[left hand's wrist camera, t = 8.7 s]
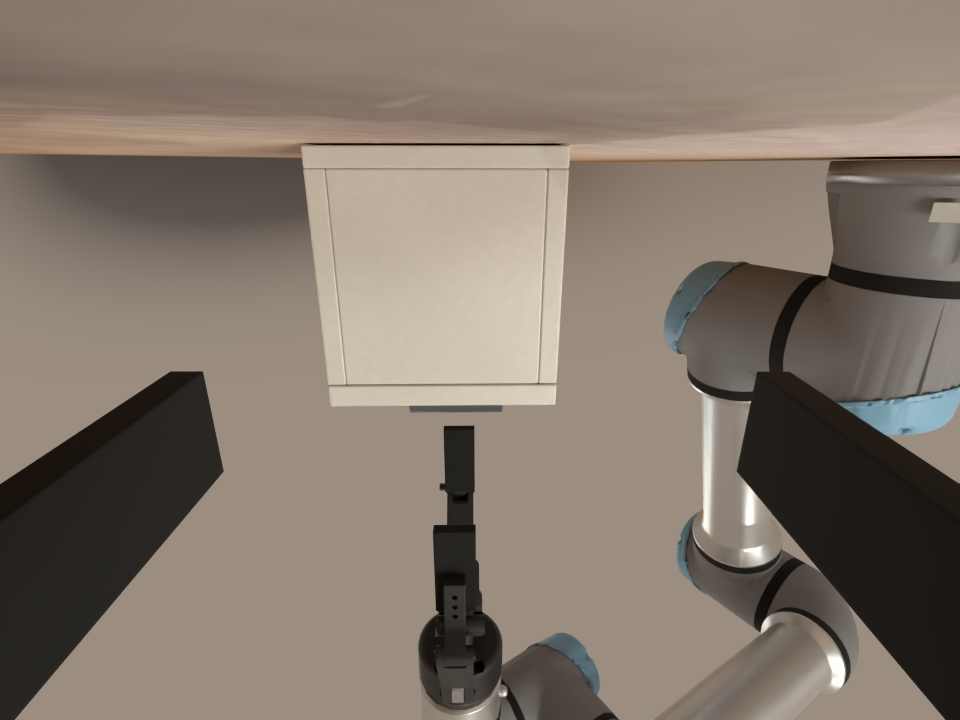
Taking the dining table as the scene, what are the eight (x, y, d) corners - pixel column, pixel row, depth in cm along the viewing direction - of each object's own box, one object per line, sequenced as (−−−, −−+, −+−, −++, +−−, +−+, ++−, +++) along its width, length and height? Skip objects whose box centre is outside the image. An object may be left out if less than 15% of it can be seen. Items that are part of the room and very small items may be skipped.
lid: (518, 286, 36) (515, 397, 40) (392, 286, 36) (399, 398, 39) (556, 384, 20) (546, 561, 23) (327, 386, 20) (347, 564, 23)
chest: (522, 155, 33) (518, 287, 36) (383, 155, 33) (391, 287, 36) (570, 145, 17) (556, 383, 20) (299, 144, 17) (327, 385, 20)
